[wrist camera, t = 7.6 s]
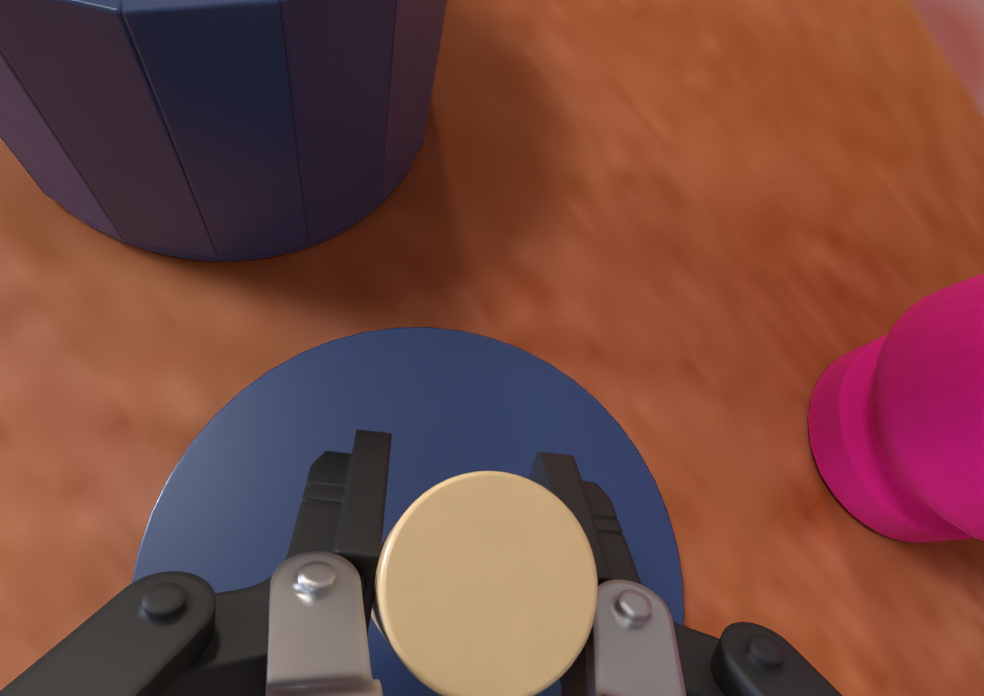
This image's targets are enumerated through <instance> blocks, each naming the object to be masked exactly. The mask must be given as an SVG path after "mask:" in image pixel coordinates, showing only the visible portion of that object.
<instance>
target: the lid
mask: <svg viewBox="0 0 984 696" xmlns="http://www.w3.org/2000/svg"><path fill="white" fill-rule="evenodd" d="M356 429H361V430H369V431H377V432H386V433H392V440H391V450H390V461H389V472H388V482H387V493H386V503H385V514H384V525H383V535H382V546H381V555H380V558H379V562H378V566H377V570H376V576H375V584H374V599H373V605H372V611H371V618H370V624H369V630H368V636H367V639H368V648H369V657H370V665H371V673H372V678H373V679H379V681H380V683H381V686H382V691H383V696H559V693H560V690H561V684H560V678H561V677H562V676H563V675H564V673H565V672H566V671H567V670H568V669H569V668H570V667H571V666H572V664H573V663H574V661H575V660H576V659H577V657H578V656H579V654H580V653H581V651H582V649H583V647H584V645H585V643H586V641H587V639H588V636H589V634H590V631H591V628H592V626H593V622H594V617H595V613H596V607H597V598H598V579H597V571H596V564H595V560H594V556H593V552H592V549H591V546H590V544H589V541H588V539H587V536H586V534H585V532H584V531H583V529H582V527H581V525H580V523H579V522H578V520H577V519H576V517H575V516H574V515H573V513H572V512H571V511H570V510H569V509H568V507H567V506H566V505H565V504H564V503H563V502H562V501H561V500H560V499H559V498H558V497H556V496H555V495H554V494H553V493H552V492H550V491H549V490H547V489H546V488H544V487H543V486H541V485H540V484H538V483H536V482H534V481H532V480H530V479H529V476H530V473H531V469H532V465H533V461H534V458H535V456H536V454H537V452H539V451H540V452H548V453H556V454H564V455H572V456H574V458H575V460H576V463H577V466H578V470H579V473H580V476H581V479H582V481H589V482H596V483H597V484H598V485H599V487H600V488H601V489H602V490H603V491H604V492H605V493H606V494H607V495H608V497H609V498H610V499H611V501H612V504H613V506H614V509H615V512H616V515H617V521H619V523H620V526H621V528H622V531H623V533H622V535H623V536H624V537H625V539H626V542H627V545H628V548H629V551H630V553H631V556H632V559H633V562H634V564H635V567H636V570H637V573H638V575H639V578H640V581H641V584H642V585H643V586H645V587H646V588H648V589H650V590H651V591H653V592H654V593H655V594H657V595H658V596H659V597H660V598H661V599H662V600H663V601H664V602H665V604H666V605H667V607H668V608H669V610H670V612H671V615H672V619H673V621H675V622H676V623H678V624H680V625H683V624H684V601H683V579H682V573H681V567H680V561H679V554H678V548H677V543H676V540H675V536H674V533H673V529H672V525H671V522H670V518H669V515H668V511H667V509H666V506H665V504H664V502H663V499H662V497H661V494H660V492H659V489H658V487H657V485H656V482H655V480H654V478H653V476H652V474H651V473H650V471H649V469H648V467H647V465H646V464H645V462H644V460H643V458H642V456H641V454H640V453H639V451H638V450H637V448H636V447H635V445H634V444H633V443H632V441H631V440H630V438H629V437H628V436H627V434H626V433H625V431H624V430H623V429H622V427H621V426H620V425H619V423H618V422H617V421H616V420H615V419H614V418H613V417H612V416H611V415H610V414H609V413H608V411H607V410H606V409H605V408H604V407H603V406H602V405H601V404H600V403H599V402H598V401H597V400H596V399H595V398H594V397H593V396H592V395H590V394H589V393H588V392H587V391H586V390H585V389H584V388H582V387H581V386H580V385H579V384H578V383H577V382H575V381H574V380H573V379H571V378H570V377H568V376H567V375H565V374H564V373H562V372H561V371H559V370H558V369H557V368H555V367H554V366H552V365H551V364H549V363H547V362H545V361H543V360H542V359H540V358H538V357H536V356H534V355H532V354H530V353H528V352H526V351H524V350H522V349H520V348H517V347H515V346H512V345H509V344H506V343H504V342H501V341H498V340H496V339H493V338H490V337H485V336H481V335H477V334H473V333H468V332H464V331H459V330H450V329H441V328H432V327H408V328H391V329H383V330H376V331H369V332H363V333H359V334H355V335H352V336H348V337H344V338H340V339H337V340H333V341H330V342H328V343H325V344H323V345H320V346H318V347H315V348H313V349H310V350H308V351H305V352H303V353H300V354H299V355H297V356H295V357H293V358H291V359H289V360H288V361H286V362H284V363H282V364H280V365H279V366H277V367H275V368H273V369H271V370H270V371H268V372H267V373H265V374H264V375H263V376H261V377H260V378H259V379H257V380H256V381H254V382H253V383H252V384H250V385H249V386H247V387H246V388H245V389H243V390H242V391H241V392H240V393H239V394H237V395H236V396H235V397H234V398H233V399H232V400H231V401H230V402H229V403H228V404H227V405H226V406H225V407H223V408H222V409H221V410H220V411H219V412H218V413H217V414H216V415H215V416H214V417H213V418H212V419H211V420H210V422H209V423H208V424H207V425H206V426H205V428H204V429H203V430H202V431H201V432H200V433H199V435H198V436H197V437H196V438H195V439H194V441H193V442H192V443H191V444H190V445H189V447H188V449H187V450H186V452H185V453H184V455H183V456H182V458H181V459H180V461H179V462H178V464H177V465H176V467H175V468H174V470H173V471H172V473H171V475H170V476H169V478H168V480H167V482H166V484H165V486H164V488H163V490H162V492H161V494H160V496H159V498H158V500H157V502H156V504H155V506H154V508H153V510H152V512H151V515H150V518H149V521H148V524H147V527H146V530H145V533H144V536H143V539H142V542H141V545H140V547H139V550H138V555H137V560H136V565H135V570H134V574H133V579H132V583H133V582H135V581H137V580H139V579H141V578H143V577H146V576H148V575H152V574H155V573H160V572H166V571H181V572H187V573H192V574H195V575H197V576H199V577H201V578H203V579H204V580H206V581H207V582H208V583H209V584H210V585H211V587H212V588H213V590H214V592H215V593H220V592H226V591H232V590H238V589H243V588H247V587H250V586H253V585H256V584H258V583H261V582H263V581H265V580H266V579H268V578H269V577H271V576H272V575H273V573H274V571H275V570H276V568H277V567H278V566H279V565H280V564H281V563H282V562H284V561H285V559H286V556H287V553H288V549H289V546H290V542H291V538H292V534H293V531H294V527H295V523H296V519H297V516H298V512H299V508H300V504H301V502H302V497H303V493H304V489H305V487H306V482H307V478H308V474H309V470H310V467H311V465H312V464H313V463H314V462H315V461H316V460H317V459H318V458H319V457H320V456H321V455H322V454H323V453H324V452H325V451H333V452H342V453H350V454H352V450H353V445H354V439H355V433H356Z"/></svg>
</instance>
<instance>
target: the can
mask: <svg viewBox="0 0 984 696" xmlns="http://www.w3.org/2000/svg"><path fill="white" fill-rule="evenodd" d="M446 5H447V0H0V137H1V139H2V140H3V141H4V142H5V144H6V145H7V146H8V148H9V149H10V150H11V151H12V153H13V154H14V155H15V157H16V158H17V159H18V160H19V162H20V163H21V164H22V166H23V167H24V168H25V169H26V171H27V172H28V173H29V175H30V176H31V177H32V178H33V180H34V181H35V182H36V184H37V185H38V186H39V187H40V189H41V190H42V191H43V193H44V194H46V195H47V196H48V197H50V198H51V199H53V200H55V201H57V202H58V203H59V204H60V205H62V206H63V207H64V208H65V209H66V210H67V211H69V212H70V213H72V214H73V215H74V216H76V217H77V218H79V219H80V220H82V221H83V222H85V223H86V224H88V225H89V226H91V227H93V228H94V229H96V230H98V231H100V232H102V233H104V234H106V235H108V236H110V237H112V238H114V239H116V240H118V241H121V242H124V243H127V244H129V245H132V246H135V247H138V248H140V249H143V250H146V251H150V252H155V253H159V254H163V255H167V256H171V257H176V258H184V259H192V260H201V261H245V260H254V259H263V258H269V257H274V256H278V255H283V254H287V253H291V252H295V251H298V250H301V249H304V248H307V247H310V246H312V245H315V244H318V243H321V242H323V241H325V240H327V239H329V238H331V237H333V236H335V235H337V234H339V233H341V232H343V231H345V230H347V229H348V228H350V227H351V226H353V225H354V224H356V223H357V222H359V221H360V220H362V219H363V218H365V217H366V216H368V215H369V214H370V213H371V212H372V211H373V210H374V209H376V208H377V207H378V206H379V205H380V204H381V203H382V202H384V201H385V200H386V199H387V198H388V196H389V195H390V194H391V193H392V192H393V191H394V189H395V188H396V187H397V186H398V185H399V183H400V182H401V181H402V179H403V178H404V176H405V175H406V173H407V171H408V170H409V168H410V167H411V165H412V163H413V162H414V159H415V157H416V155H417V153H418V152H419V150H420V149H421V147H422V145H423V143H424V137H425V131H426V125H427V119H428V113H429V107H430V102H431V96H432V90H433V84H434V78H435V72H436V66H437V60H438V54H439V48H440V42H441V35H442V29H443V23H444V17H445V11H446Z"/></svg>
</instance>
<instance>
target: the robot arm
mask: <svg viewBox="0 0 984 696" xmlns="http://www.w3.org/2000/svg"><path fill="white" fill-rule="evenodd" d="M391 440H392V433H386V432H377V431H369V430H361V429H356V433H355V439H354V445H353V450H352V454H350V453H342V452H333V451H325V452H324V453H323V454H322V455H321V456H320V457H319V458H318V459H317V460H316V461H315V462H314V463H313V464H312V465H311V467H310V470H309V474H308V478H307V482H306V487H305V489H304V493H303V497H302V502H301V504H300V508H299V512H298V516H297V519H296V523H295V527H294V531H293V534H292V538H291V542H290V546H289V549H288V553H287V556H286V559H285V561H284V562H282V563H281V564H280V565H279V566H278V567H277V568H276V570H275V571H274V573H273V575H272V576H271V577H269V578H268V579H266V580H265V581H263V582H261V583H258V584H256V585H253V586H250V587H247V588H243V589H238V590H232V591H226V592H220V593H215V592H214V590H213V588H212V587H211V585H210V584H209V583H208V582H207V581H206V580H204V579H203V578H201V577H199V576H197V575H195V574H192V573H187V572H181V571H166V572H160V573H155V574H152V575H148V576H146V577H143V578H141V579H139V580H137V581H135V582H133V583H132V584H130V585H129V586H127V587H126V588H125V589H124V590H122V591H121V592H120V593H119V594H118V595H116V596H115V597H114V598H113V599H111V600H110V601H109V602H108V603H107V604H105V605H104V606H103V607H102V608H101V609H99V610H98V611H97V612H96V613H95V614H93V615H92V616H91V617H90V618H88V619H87V620H86V621H85V622H84V623H82V624H81V625H80V626H79V627H78V628H76V629H75V630H74V631H73V632H71V633H70V634H69V635H68V636H67V637H65V638H64V639H63V640H62V641H61V642H59V643H58V644H57V645H56V646H55V647H53V648H52V649H51V650H50V651H48V652H47V653H46V654H45V655H44V656H42V657H41V658H40V659H39V660H38V661H36V662H35V663H34V664H33V665H31V666H30V667H29V668H28V669H27V670H25V671H24V672H23V673H22V674H21V675H19V676H18V677H17V678H16V679H14V680H13V681H12V682H11V683H10V684H8V685H7V686H6V687H5V688H4V689H2V690H1V691H0V696H383V691H382V686H381V683H380V681H379V679H373V678H372V673H371V665H370V657H369V648H368V639H367V636H368V630H369V624H370V618H371V611H372V605H373V599H374V584H375V576H376V570H377V566H378V562H379V558H380V555H381V546H382V535H383V525H384V514H385V503H386V493H387V482H388V472H389V461H390V450H391ZM529 479H530V480H532V481H534V482H536V483H538V484H540V485H541V486H543V487H544V488H546V489H547V490H549V491H550V492H552V493H553V494H554V495H555V496H556V497H558V498H559V499H560V500H561V501H562V502H563V503H564V504H565V505H566V506H567V507H568V509H569V510H570V511H571V512H572V513H573V515H574V516H575V517H576V519H577V520H578V522H579V523H580V525H581V527H582V529H583V531H584V532H585V534H586V536H587V539H588V541H589V544H590V546H591V549H592V552H593V556H594V560H595V564H596V571H597V579H598V598H597V607H596V613H595V617H594V622H593V626H592V628H591V631H590V634H589V636H588V639H587V641H586V643H585V645H584V647H583V649H582V651H581V653H580V654H579V656H578V657H577V659H576V660H575V661H574V663H573V664H572V666H571V667H570V668H569V669H568V670H567V671H566V672H565V673H564V675H563V676H562V677H561V678H560V684H561V690H560V693H559V696H842V695H841V694H840V693H839V692H838V691H837V690H836V689H835V688H834V687H833V686H832V685H831V684H830V683H829V682H828V681H827V680H826V679H825V678H824V677H823V676H822V675H821V674H820V673H819V672H818V671H817V670H816V669H815V668H814V667H813V666H812V665H811V664H810V663H809V662H808V661H807V660H806V659H805V658H804V657H803V656H802V655H801V654H800V653H799V652H798V651H797V650H796V649H795V648H794V647H793V646H792V645H791V644H790V643H788V642H787V641H786V640H785V639H784V638H782V637H781V636H780V635H778V634H777V633H775V632H773V631H772V630H770V629H768V628H766V627H763V626H760V625H758V624H753V623H748V622H737V623H733V624H731V625H729V626H727V627H726V628H725V629H724V631H723V633H722V635H721V637H720V639H719V638H716V637H713V636H710V635H707V634H704V633H702V632H699V631H696V630H693V629H690V628H687V627H685V626H683V625H680V624H678V623H676V622H675V621H673V619H672V615H671V612H670V610H669V608H668V607H667V605H666V604H665V602H664V601H663V600H662V599H661V598H660V597H659V596H658V595H657V594H655V593H654V592H653V591H651V590H650V589H648V588H646V587H645V586H643V585H642V584H641V581H640V578H639V575H638V573H637V570H636V567H635V564H634V562H633V559H632V556H631V553H630V551H629V548H628V545H627V542H626V539H625V537H624V536H623V535H622V533H623V531H622V528H621V526H620V523H619V521H617V515H616V512H615V509H614V506H613V504H612V501H611V499H610V498H609V497H608V495H607V494H606V493H605V492H604V491H603V490H602V489H601V488H600V487H599V485H598V484H597V483H596V482H589V481H582V479H581V476H580V473H579V470H578V466H577V463H576V460H575V458H574V456H572V455H564V454H556V453H548V452H540V451H539V452H537V454H536V456H535V458H534V461H533V465H532V469H531V473H530V476H529Z"/></svg>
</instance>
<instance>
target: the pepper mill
mask: <svg viewBox="0 0 984 696" xmlns="http://www.w3.org/2000/svg"><path fill="white" fill-rule="evenodd" d="M808 428H809V437H810V446H811V449H812V452H813V455H814V458H815V461H816V463H817V466H818V469H819V472H820V474H821V476H822V477H823V479H824V481H825V482H826V484H827V485H828V487H829V488H830V490H831V492H832V493H833V495H834V496H835V497H836V498H837V499H838V500H839V501H840V503H841V504H842V505H843V506H844V507H845V508H846V509H847V510H848V511H849V513H851V514H852V515H853V516H854V517H856V518H857V519H858V520H860V521H861V522H862V523H863V524H865V525H866V526H868V527H870V528H871V529H873V530H875V531H876V532H878V533H880V534H883V535H885V536H888V537H890V538H893V539H897V540H900V541H906V542H913V543H925V542H937V541H949V540H961V539H969V538H974V537H975V538H977V539H979V540H982V541H984V274H981V275H978V276H975V277H972V278H970V279H967V280H964V281H961V282H959V283H956V284H954V285H951V286H949V287H946V288H943V289H941V290H938V291H936V292H934V293H932V294H930V295H927V296H925V297H924V298H923V299H921V300H920V301H919V302H917V303H916V304H915V305H913V306H912V307H911V308H909V309H908V310H907V311H905V312H904V314H903V315H902V316H901V317H900V318H899V320H898V321H897V322H896V323H895V324H894V326H893V327H892V328H891V330H890V332H889V334H888V335H887V336H883V337H881V338H879V339H877V340H875V341H872V342H870V343H868V344H866V345H864V346H862V347H859V348H857V349H855V350H853V351H851V352H849V353H846V354H845V355H843V356H841V357H840V358H838V359H836V360H835V361H834V362H833V363H832V364H831V365H829V366H828V368H827V369H826V370H825V371H824V372H823V373H822V375H821V377H820V379H819V380H818V382H817V384H816V386H815V388H814V391H813V393H812V397H811V400H810V406H809V413H808Z"/></svg>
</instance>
